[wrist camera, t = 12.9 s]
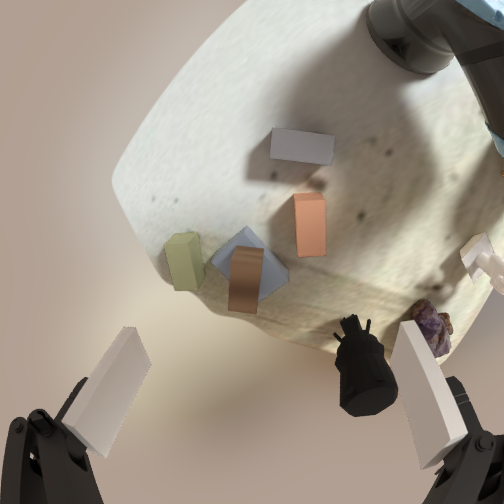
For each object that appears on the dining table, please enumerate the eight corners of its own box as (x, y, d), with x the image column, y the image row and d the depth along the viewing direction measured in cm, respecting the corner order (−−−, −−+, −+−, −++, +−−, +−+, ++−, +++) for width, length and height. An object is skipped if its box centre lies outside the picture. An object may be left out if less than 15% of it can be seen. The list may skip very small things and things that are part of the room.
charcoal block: (271, 155, 38) (269, 158, 33) (273, 129, 36) (272, 127, 32) (325, 162, 37) (331, 166, 33) (328, 136, 36) (335, 135, 31)
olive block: (175, 233, 44) (163, 244, 40) (197, 231, 44) (188, 243, 39) (184, 276, 48) (174, 290, 43) (205, 275, 47) (198, 290, 42)
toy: (363, 289, 45) (397, 374, 27) (374, 325, 48) (404, 408, 30) (319, 307, 47) (333, 398, 29) (335, 341, 50) (350, 427, 32)
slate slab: (216, 251, 45) (210, 261, 42) (247, 224, 43) (243, 233, 39) (256, 292, 48) (254, 305, 44) (288, 269, 45) (288, 281, 42)
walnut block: (236, 245, 40) (230, 260, 35) (264, 248, 40) (261, 263, 35) (233, 292, 43) (228, 310, 39) (258, 295, 43) (256, 314, 38)
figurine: (466, 277, 42) (505, 321, 28) (449, 247, 40) (495, 288, 26) (488, 253, 39) (531, 291, 25) (473, 220, 37) (524, 254, 24)
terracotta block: (293, 193, 40) (295, 201, 35) (320, 192, 39) (325, 199, 35) (296, 243, 43) (297, 257, 38) (321, 242, 42) (325, 255, 38)
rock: (426, 286, 45) (390, 321, 48) (443, 306, 37) (400, 345, 40) (452, 319, 45) (418, 350, 49) (468, 340, 37) (430, 374, 41)
